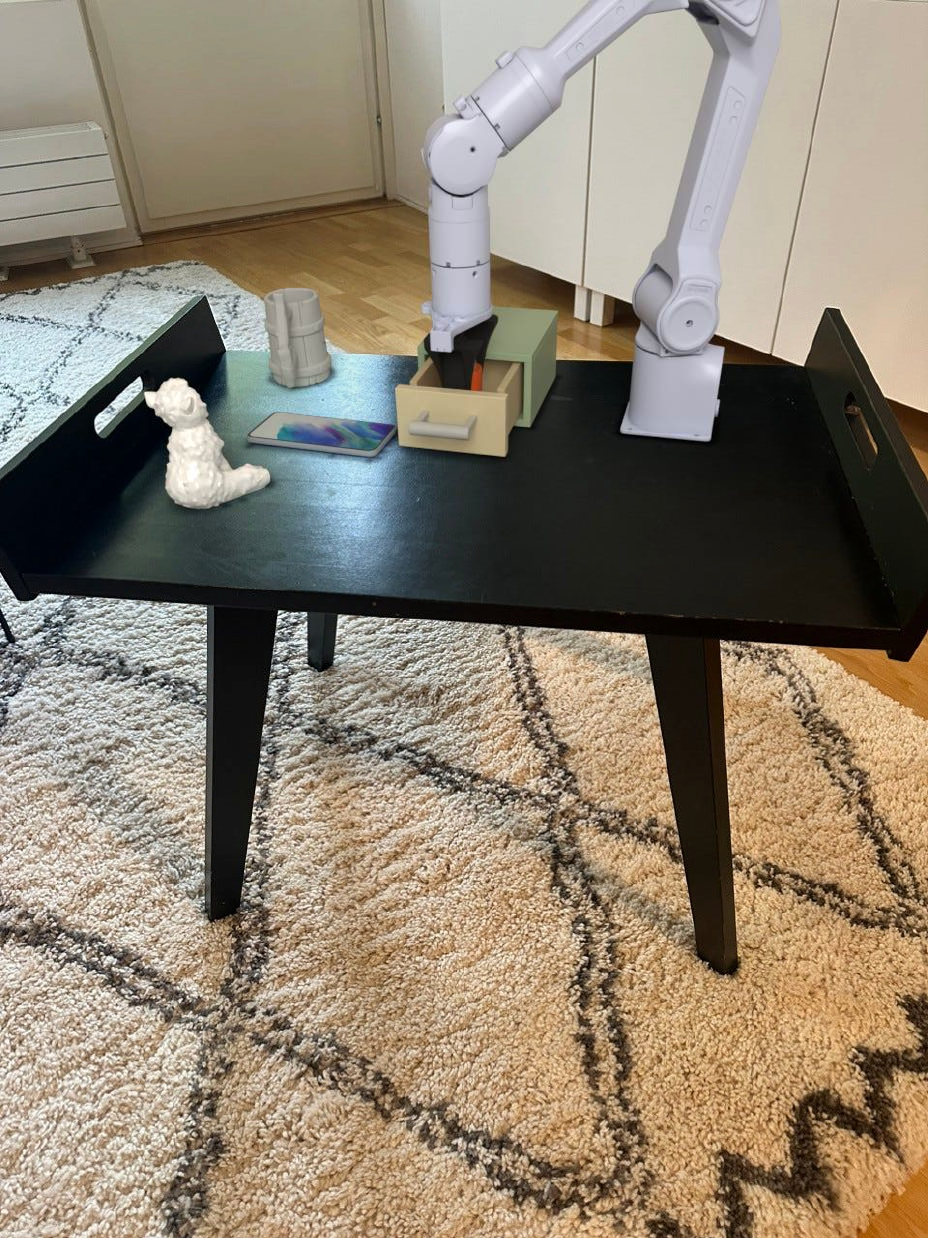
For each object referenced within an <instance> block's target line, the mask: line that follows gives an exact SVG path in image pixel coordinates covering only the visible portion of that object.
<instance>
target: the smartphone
mask: <svg viewBox="0 0 928 1238" xmlns="http://www.w3.org/2000/svg"><path fill="white" fill-rule="evenodd" d="M397 432H398V428H397V426H396V425H395V424H391V423H383V422H373V421H365V420H357V419H356V420H355V419H348V418H347V419H346V418H337V417H329V416H320V415H312V414H311V415H310V414H301V413H293V412H285V411H284V412H283V411H275V412H272V413H270V414H269V415H268V416H266V418H264V419H263V420H262V421H261V422H260V423H258V424H257V426H255V427H254V428H252V429H251V430H250V431H249V432H248V433H247V434H246V441H247V442H248V443H251V444H258V445H267V446H274V447H283V448H292V449H301V450H307V451H315V452H325V453H332V454H336V455H345V456H353V457H361V458H374V457H376V456H377V455H378V454H379V453H380V452H381V451H382V450H383V449H384V447H385V446H386V445H387V444H388V443H389V442H390V440H391V439H392V438H393V437H394V436H395V435H396V433H397Z"/></svg>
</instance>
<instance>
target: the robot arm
mask: <svg viewBox="0 0 928 1238" xmlns="http://www.w3.org/2000/svg"><path fill="white" fill-rule="evenodd" d="M678 10H685V11H686V12H687V13H688V14H690V15H691V16H692V17H693V19H695V22H696V24H697V26H699V28H700V30H701V32H702V34H703V36H704V37H705V39H706V40H707V42H708V44H709V46H710V47H711V49H712V53H713V55H712V59H711V63H710V66H709V70H708V74H707V77H706V82H705V85H704V89H703V93H702V97H701V99H700V104H699V107H698V112H697V116H696V118H695V123H694V126H693V130H692V135H691V138H690V142H689V145H688V149H687V153H686V157H685V161H684V165H683V169H682V172H681V176H680V179H679V183H678V187H677V191H676V194H675V198H674V202H673V206H672V210H671V214H670V218H669V220H668V225H667V229H666V233H665V236H664V238H663V239H662V240H661V242H660V243H658V245H657V246H656V247H655V248H654V249H653V251H651V256H650V260H649V264H648V266H647V268H646V269H645V271H644V273H642V275H641V276H640V278H638V280H637V282H636V284H635V286H634V288H633V291H632V294H631V295H632V296H631V304H632V309H633V311H634V314H635V316H637V318H638V319H639V320H640V325H639V328H638V330H637V332H636V334H635V338H634V340H635V341H634V348H633V361H632V371H631V382H630V390H629V391H630V393H629V401H628V403H627V406H626V409H625V412H624V415H623V419H622V422H621V425H620V428H619V432H620V433H621V434H624V435H632V436H633V435H634V436H643V437H654V438H666V439H674V440H675V439H676V440H685V441H695V442H710V441H711V440H712V433H713V428H714V427H713V426H714V421H715V417H716V418H717V417H718V415H719V408H720V403H721V400H720V399H718V395H719V389H720V388H719V387H720V382H721V375H722V370H723V369H722V368H723V362H724V355H725V347H724V346H721V345H715V344H711V343H709V342H710V341H711V339H712V338H713V337H714V336H715V334H716V332H717V329H718V327H719V323H720V309H719V294H720V290H721V286H722V283H723V279H722V272H721V266H720V265H721V264H720V258H719V249H720V246H721V242H722V239H723V235H724V232H725V229H726V226H727V222H728V219H729V216H730V213H731V209H732V206H733V202H734V199H735V197H736V193H737V189H738V186H739V182H740V179H741V177H742V173H743V169H744V166H745V162H746V159H747V156H748V153H749V150H750V146H751V142H752V139H753V136H754V133H755V129H756V127H757V123H758V120H759V116H760V113H761V109H762V106H763V104H764V100H765V97H766V93H767V89H768V86H769V83H770V79H771V76H772V73H773V69H774V66H775V63H776V60H777V56H778V53H779V50H780V47H781V41H782V36H783V29H782V20H781V12H780V3H779V0H589V1H587V3H585V4H584V5H583V6H582V8H580V9H579V11H578V12H576V13H575V15H574V16H572V18H571V19H569V21H568V22H566V24H565V25H563V27H561V29H559V30H558V32H557V33H556V34H555V35H554V36H552V37H551V39H550V40H548V42H547V43H545V44H544V46H543V47H533V46H527V45H522V46H519V48H517V49H516V50H515V51H514V52H513V53H511V52H510V51H509V50H508V49H505V50H503V52H502V53H500V54H499V55H498V56H497V57H496V58H495V61H494V62H495V64H496V65H497V68H496V69H495V70H494V71H493V72H492V73H491V74H490V75H488V77H486V78H485V79H484V80H483V81H482V82H481V83H480V84H479V85H478V86H477V87H476V88H475V89H474V90H473V91H471V93H469V95H467V96H466V97H464V96H463V95H462V94H460V95H459V96H458V97H457V98H456V99H454V101H453V102H452V105H453V106H454V108H455V110H456V111H457V113H455V112H454V113H450V114H444V115H442V116H440V117H438V118H437V119H436V120H434V121H433V122H432V123H431V125H430V126H429V128H428V129H427V131H426V133H425V138H424V139H423V147H422V148H421V149H420V153H421V159H422V160H423V161H422V162H423V164H424V166H425V168H426V170H427V171H428V173H429V174H430V175H431V177H429V178H428V189H427V198H428V201H429V206H428V209H427V219H428V220H427V221H428V241H429V244H428V245H429V263H430V285H431V286H430V288H431V300H426V301H424V302H423V303H422V304H421V305H420V314H423V315H429V316H430V319H431V326H432V327H431V329H430V331H429V332H428V333H427V335H425V337H424V338H423V339H424V348H425V351H426V352H427V353H428V355H429V356H430V358H431V360H432V361H433V363H434V365H435V367H436V370H437V372H438V375H439V378H440V382H441V385H442V388H448V389H459V390H470V391H471V384H472V375H473V369H474V364H475V361H476V363H478V364H480V365H481V366H482V373H483V368H484V362H485V357H486V352H487V348H488V345H489V342H490V339H491V336H492V334H493V331H494V329H495V327H496V325H497V323H498V316H497V315H494V314H492V306H493V303H492V299H491V210H490V209H491V207H490V206H489V183H490V182H491V180H492V178H493V176H494V174H495V171H496V166H497V161H498V159H499V158H505V157H507V155H509V154H510V153H511V152H512V151H513V150H514V149H515V148H516V147H517V146H519V145H520V144H521V143H522V142H524V140H525V139H526V138H527V137H529V136H530V135H531V134H532V132H534V131H535V130H536V129H538V128H539V127H540V126H541V125H542V124H543V123H544V122H545V121H547V120H548V119H549V117H551V116H552V115H553V114H554V113H555V112H556V111H558V109H560V107H562V103H563V96H564V91H565V88H566V87H565V86H566V83H567V81H568V80H569V79H570V78H572V77H573V76H575V74H577V72H579V71H580V70H581V69H582V68H584V67H585V66H586V65H587V64H588V63H590V61H592V60H593V59H594V58H595V57H597V56H598V55H599V54H600V53H601V52H603V51H604V50H605V49H606V48H607V47H608V46H610V45H611V44H612V43H614V42H615V41H616V40H617V39H618V38H620V36H622V35H623V34H624V33H626V32H627V31H628V30H629V29H630V28H632V27H633V26H634V25H635V24H636V23H638V22H639V21H640V20H641V19H642V18H643V17H645V16H647V15H653V14H660V13H666V12H672V11H678Z"/></svg>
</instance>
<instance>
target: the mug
mask: <svg viewBox="0 0 928 1238" xmlns="http://www.w3.org/2000/svg"><path fill="white" fill-rule="evenodd" d="M263 303H264V312H265V320H264V330H265V332H266V333H267V337H268V345H269V354H270V358H268V369H269V371H270V372H271V373H272V377H273V380H274V381H275V382H276V383H277V384H278V385H282V386H286V388H299V387H300V388H301V387H308V386H314V385H316V384H320V383H322V382H324V381H326V380H328V379H329V377H330V374H331V366H332V362H333V361H332V357H331V354H330V353H329V352H328V349H327V341H326V336H325V330H324V327H325V324H326V323H325V316H324V315H323V314H322V310H321V305H320V298H319V294H318V292H317V291H316V290H314V289H313V288H309V287H285V288H279V289H276V290H272V291H270V292H267V293H266V295H264V297H263Z"/></svg>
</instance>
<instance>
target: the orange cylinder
mask: <svg viewBox="0 0 928 1238" xmlns="http://www.w3.org/2000/svg"><path fill="white" fill-rule="evenodd" d="M471 391H481V392H482V366H481V365H480V364H478V363H476V361H475V364H474V369H473V375H472V384H471Z"/></svg>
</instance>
